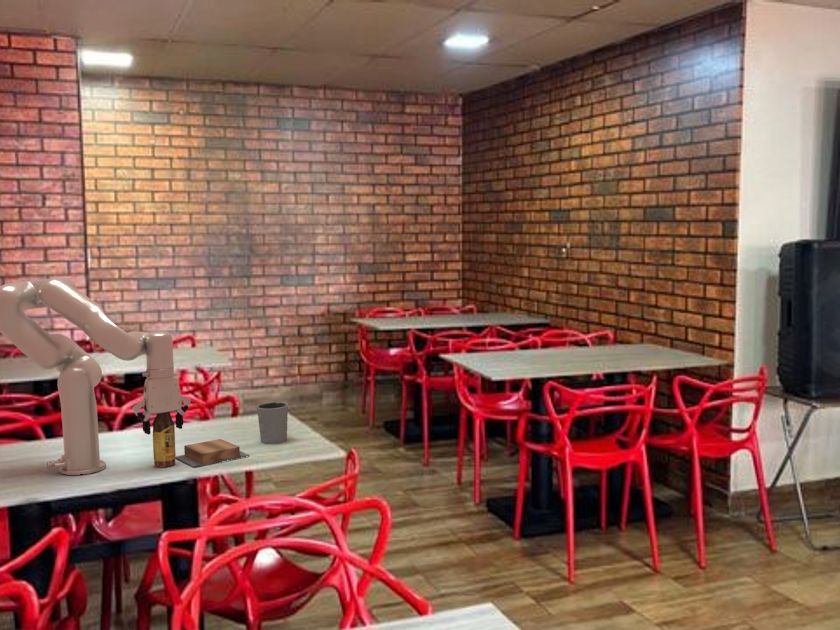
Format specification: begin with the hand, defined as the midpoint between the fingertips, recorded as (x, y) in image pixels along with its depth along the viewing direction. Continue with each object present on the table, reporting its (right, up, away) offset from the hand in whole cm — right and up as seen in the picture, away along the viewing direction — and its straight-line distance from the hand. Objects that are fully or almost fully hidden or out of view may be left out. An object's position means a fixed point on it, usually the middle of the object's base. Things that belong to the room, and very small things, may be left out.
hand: (163, 430), depth 242 cm
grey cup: (+28, -7, +27) cm, 40 cm away
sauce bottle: (0, -11, +1) cm, 10 cm away
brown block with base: (+12, -9, +8) cm, 17 cm away
